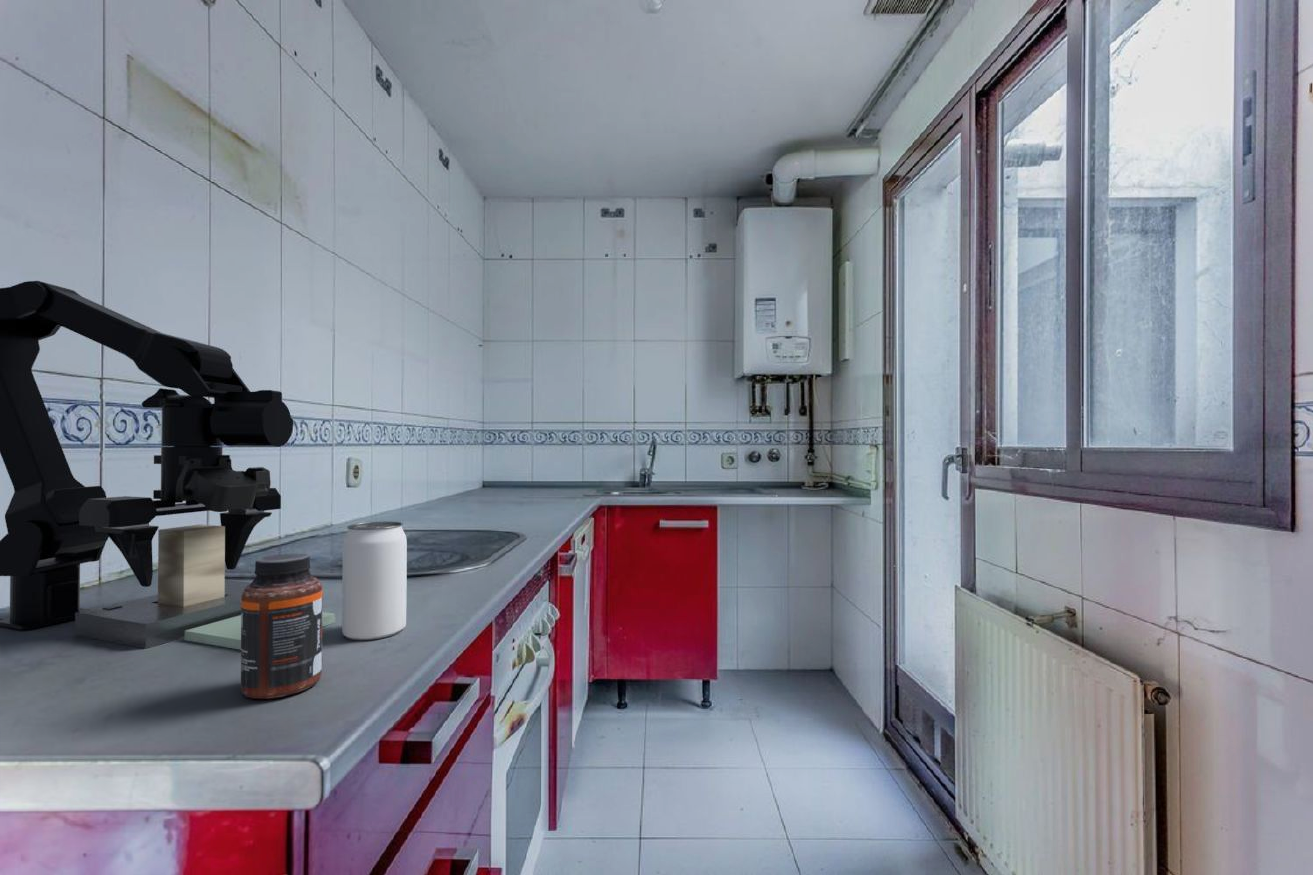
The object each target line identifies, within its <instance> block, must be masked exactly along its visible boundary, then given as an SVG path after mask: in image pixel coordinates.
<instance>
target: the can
mask: <svg viewBox="0 0 1313 875" xmlns="http://www.w3.org/2000/svg"><path fill="white" fill-rule="evenodd" d="M403 524H404V523H403V522H400V521H384V520H383V521H368V522H359V523H353V524H349V525H347V528H346V529H347V532H346V533H345V535H344V537H343V540H342V563H341V564H342V565H341V566H342V567H341V568H342V575H341V576H342V581H341V583H342V584H341V586H342V587H341V589H342V590H341V596H342V597H341V598H342V599H341V609H342V610H341V613H342V616H341V627H342V629H341V630H342V631H341V632H342V635H343V636H345V638H346V639H349V640H350V641H351V640H352V641H358V642H359V641H375V640H376V641H377V640H381V639H386V638H390V637H394V636H395V635H397V634H399V633H401V632H402V631H403V630H404V628H405V627H406V626H407V584H408V583H407V579H408V578H407V572H408V570H407V568H408V566H407V564H408V563H407V562H408V561H407V560H408V559H407V558H408V557H407V551H408V550H407V548H408V547H407V545H408V544H407V535H406V533H405V531H404V529H403Z"/></svg>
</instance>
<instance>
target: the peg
mask: <svg viewBox="0 0 1313 875" xmlns="http://www.w3.org/2000/svg"><path fill="white" fill-rule="evenodd" d="M157 531H158V544H157V545H158V547H157V548H158V549H157V550H158V552H157V554H158V555H157V556H158V558H157V560H158V561H157V564H158V565H157V595H158V604H163V605H170V606H176V607H185V606H189V605H193V604H197V603H201V602H205V601H209V600H214V599H218V598H222V597H225V580H226V578H225V577H226V574H225V572H226V570H225V569H226V568H225V567H226V564H225V526H221V525H215V524H214V525H213V524H210V525H209V524H193V525H186V526H177V527H176V526H175V527H169V528H163V529H160V528H159V529H158V530H157Z"/></svg>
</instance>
